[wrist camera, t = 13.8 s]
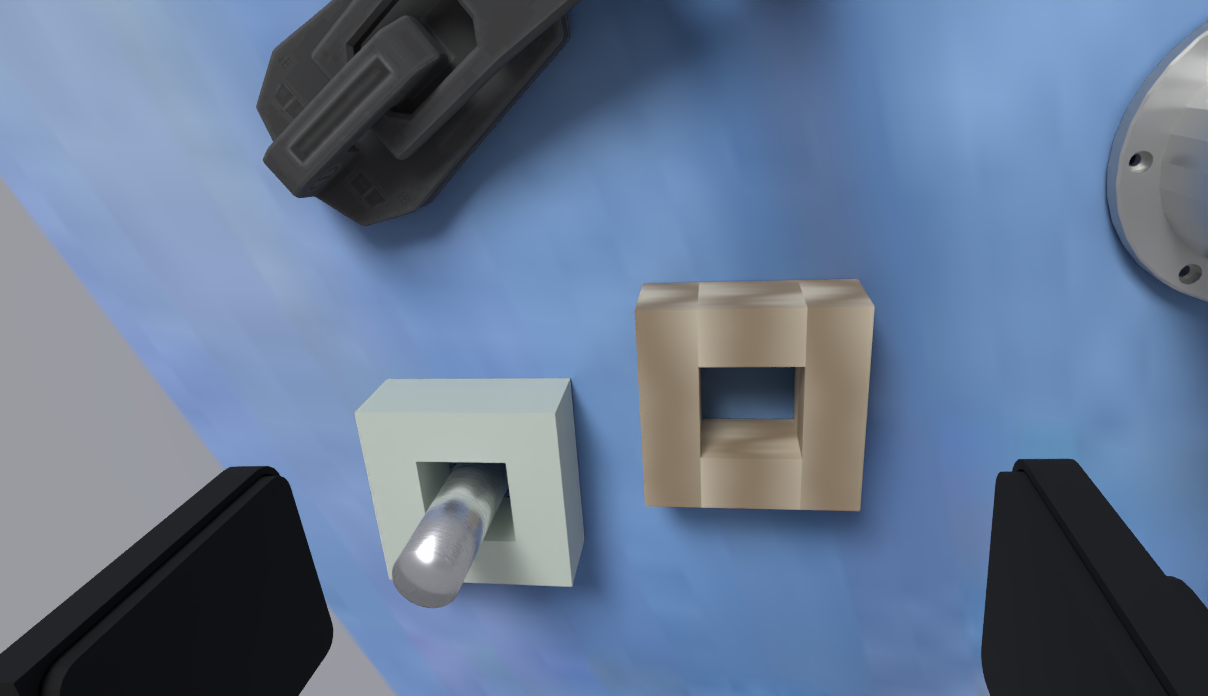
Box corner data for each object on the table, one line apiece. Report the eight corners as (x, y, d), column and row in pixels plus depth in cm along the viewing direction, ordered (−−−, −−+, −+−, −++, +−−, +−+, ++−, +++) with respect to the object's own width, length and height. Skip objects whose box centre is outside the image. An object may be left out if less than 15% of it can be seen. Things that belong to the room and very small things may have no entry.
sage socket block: (570, 378, 39) (555, 413, 35) (584, 539, 42) (572, 586, 39) (387, 378, 40) (354, 412, 37) (416, 534, 44) (389, 579, 40)
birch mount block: (857, 279, 35) (874, 306, 31) (846, 466, 38) (860, 511, 35) (642, 283, 36) (634, 310, 33) (651, 463, 40) (645, 506, 36)
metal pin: (513, 437, 41) (454, 552, 31) (519, 484, 42) (463, 609, 32) (460, 436, 41) (386, 549, 32) (467, 483, 42) (398, 606, 33)
